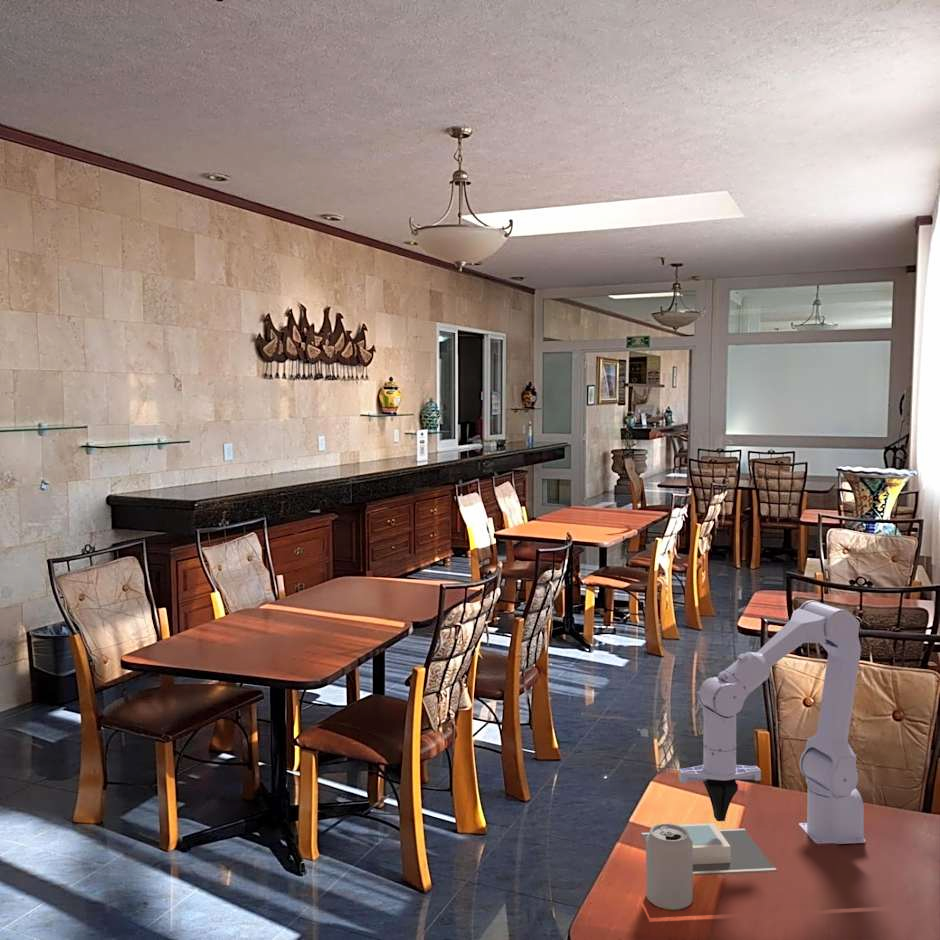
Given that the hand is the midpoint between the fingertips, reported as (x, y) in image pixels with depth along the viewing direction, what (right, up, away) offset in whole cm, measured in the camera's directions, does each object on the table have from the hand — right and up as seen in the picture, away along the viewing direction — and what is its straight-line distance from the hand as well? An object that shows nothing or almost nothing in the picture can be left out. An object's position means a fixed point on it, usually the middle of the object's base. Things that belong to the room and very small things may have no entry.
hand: (719, 818), depth 162 cm
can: (-13, -8, -15) cm, 21 cm away
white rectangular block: (+1, -4, 0) cm, 4 cm away
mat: (-2, -7, 0) cm, 7 cm away
